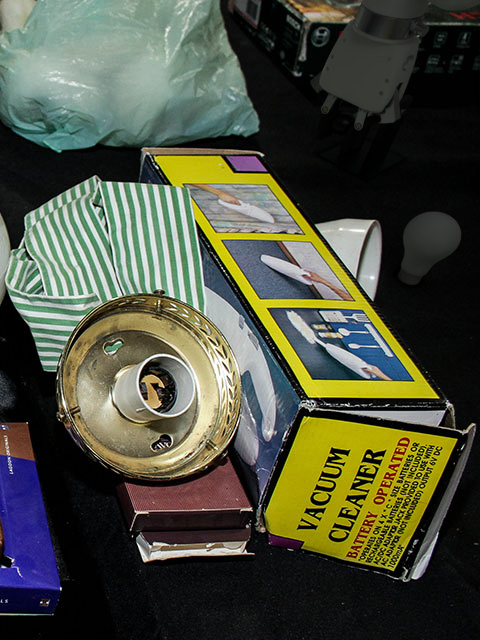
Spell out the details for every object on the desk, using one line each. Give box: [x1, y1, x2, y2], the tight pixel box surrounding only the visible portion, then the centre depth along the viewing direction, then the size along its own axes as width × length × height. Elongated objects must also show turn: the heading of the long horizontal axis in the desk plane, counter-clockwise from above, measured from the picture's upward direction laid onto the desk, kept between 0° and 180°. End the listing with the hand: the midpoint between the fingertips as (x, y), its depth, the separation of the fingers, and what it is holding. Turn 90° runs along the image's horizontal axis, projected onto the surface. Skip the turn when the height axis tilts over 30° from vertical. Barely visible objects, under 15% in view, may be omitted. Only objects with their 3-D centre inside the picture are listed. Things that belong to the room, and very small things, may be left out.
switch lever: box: [331, 107, 386, 137], centre depth 126 cm, size 13×3×3 cm, turn 124°
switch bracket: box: [318, 94, 415, 181], centre depth 131 cm, size 10×8×12 cm
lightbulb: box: [397, 211, 462, 286], centre depth 110 cm, size 6×6×11 cm
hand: (335, 142), depth 126 cm, fingers closed on switch lever, 3 cm apart
